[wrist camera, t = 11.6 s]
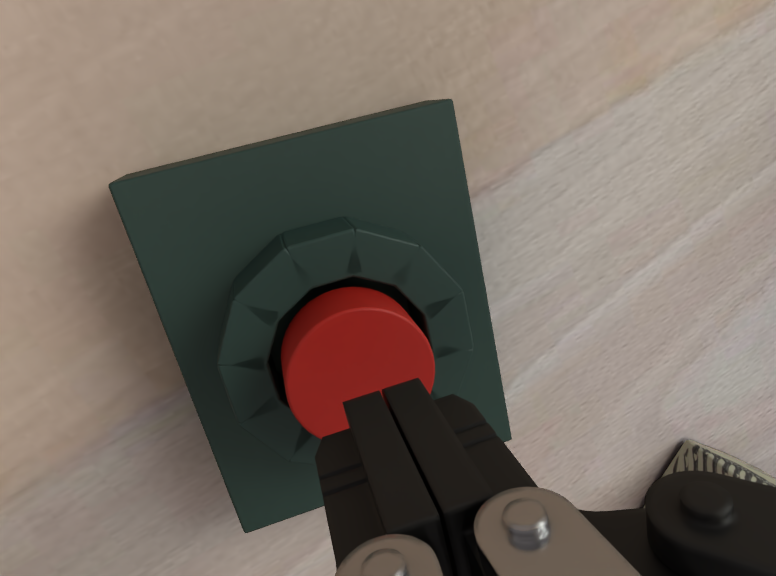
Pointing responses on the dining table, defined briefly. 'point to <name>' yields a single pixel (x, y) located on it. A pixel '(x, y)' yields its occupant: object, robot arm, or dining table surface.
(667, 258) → the dining table surface
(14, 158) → the dining table surface
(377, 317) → the button
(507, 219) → the dining table surface
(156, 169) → the button box
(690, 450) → the box
